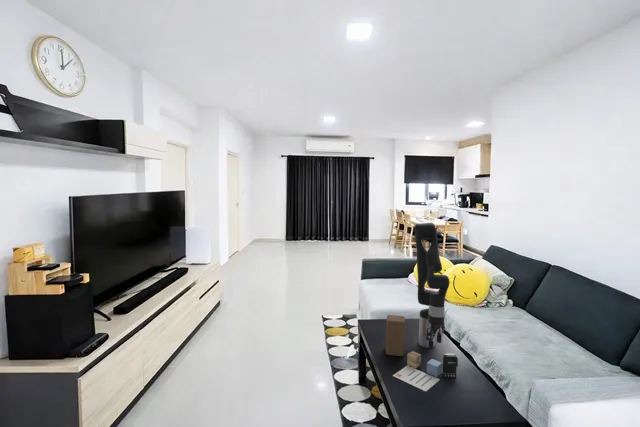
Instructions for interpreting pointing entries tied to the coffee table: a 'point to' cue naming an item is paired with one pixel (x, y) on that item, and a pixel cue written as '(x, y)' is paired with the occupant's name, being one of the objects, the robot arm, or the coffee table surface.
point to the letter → (416, 378)
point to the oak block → (414, 359)
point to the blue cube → (434, 367)
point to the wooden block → (395, 335)
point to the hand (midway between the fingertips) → (435, 345)
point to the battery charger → (449, 365)
